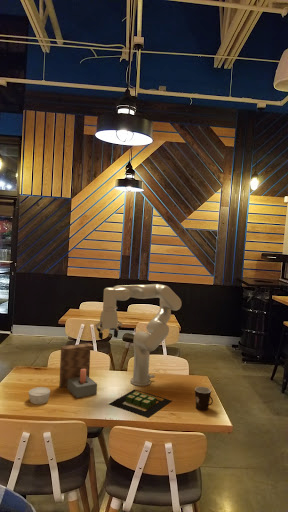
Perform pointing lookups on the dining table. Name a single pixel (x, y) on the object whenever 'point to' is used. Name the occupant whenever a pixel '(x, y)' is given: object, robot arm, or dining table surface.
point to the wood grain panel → (74, 362)
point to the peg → (83, 376)
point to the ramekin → (39, 395)
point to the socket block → (82, 387)
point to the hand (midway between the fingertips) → (108, 338)
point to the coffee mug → (202, 398)
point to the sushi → (141, 403)
